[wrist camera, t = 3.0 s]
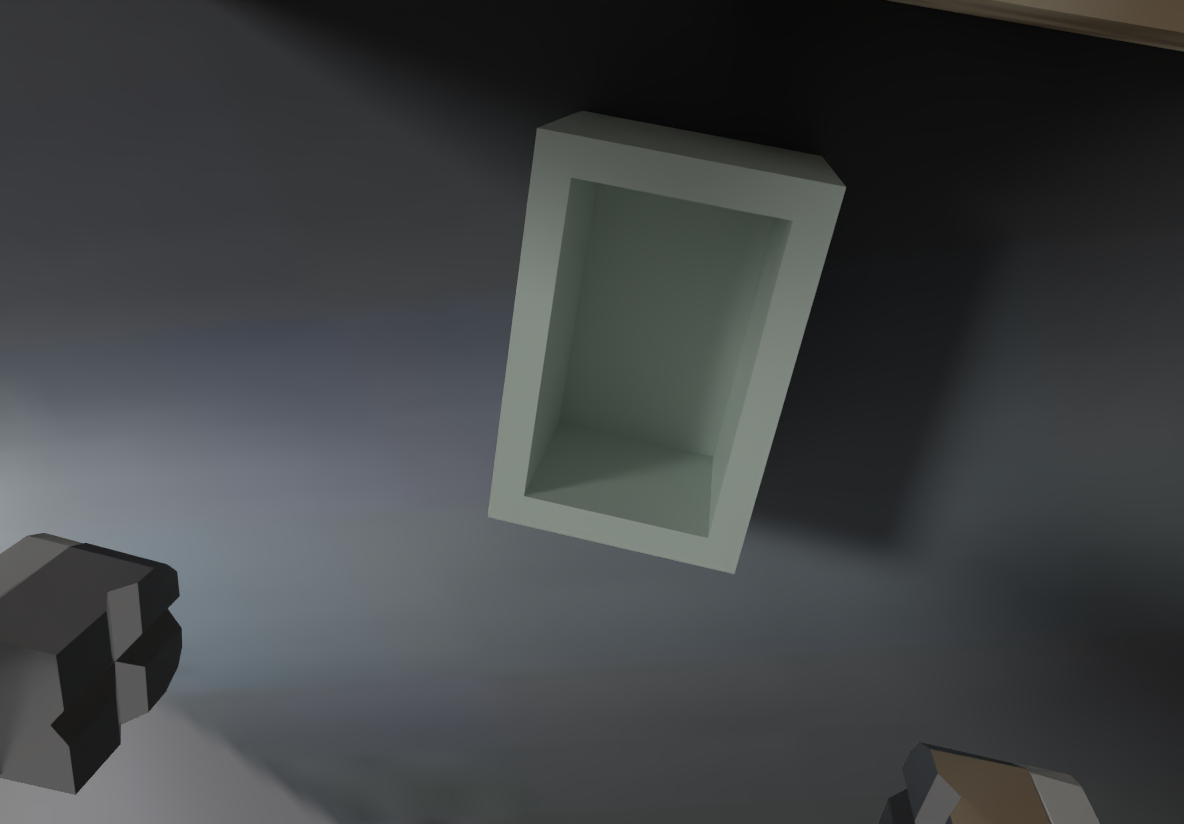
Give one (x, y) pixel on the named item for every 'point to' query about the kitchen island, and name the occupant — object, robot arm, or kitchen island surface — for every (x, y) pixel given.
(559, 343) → the box
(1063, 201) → the kitchen island surface
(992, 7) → the big crate
